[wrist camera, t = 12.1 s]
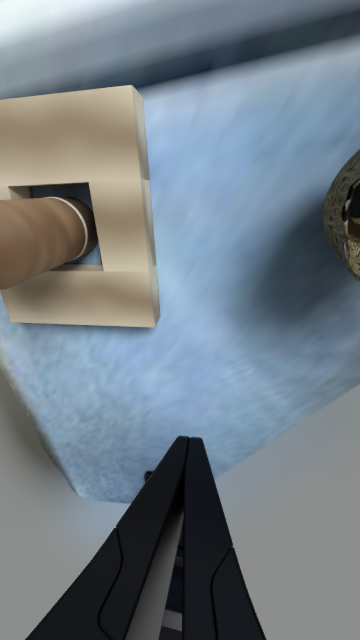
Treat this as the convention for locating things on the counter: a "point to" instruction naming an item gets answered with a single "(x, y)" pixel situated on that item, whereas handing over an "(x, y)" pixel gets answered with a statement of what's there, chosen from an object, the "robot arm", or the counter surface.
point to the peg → (42, 236)
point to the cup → (344, 216)
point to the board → (107, 199)
